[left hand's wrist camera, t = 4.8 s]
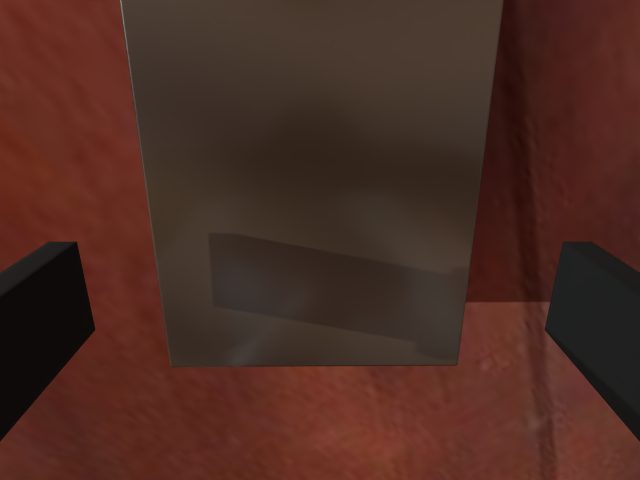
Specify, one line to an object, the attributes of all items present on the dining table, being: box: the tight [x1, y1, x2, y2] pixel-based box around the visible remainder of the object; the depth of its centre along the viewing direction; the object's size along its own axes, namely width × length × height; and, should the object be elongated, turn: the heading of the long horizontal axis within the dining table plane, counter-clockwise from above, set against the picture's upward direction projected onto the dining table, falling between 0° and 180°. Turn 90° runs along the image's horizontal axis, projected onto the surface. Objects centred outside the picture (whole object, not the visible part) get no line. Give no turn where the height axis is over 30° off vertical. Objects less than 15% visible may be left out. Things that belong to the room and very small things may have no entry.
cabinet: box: [119, 0, 504, 367], centre depth 18 cm, size 17×11×10 cm, turn 0°
